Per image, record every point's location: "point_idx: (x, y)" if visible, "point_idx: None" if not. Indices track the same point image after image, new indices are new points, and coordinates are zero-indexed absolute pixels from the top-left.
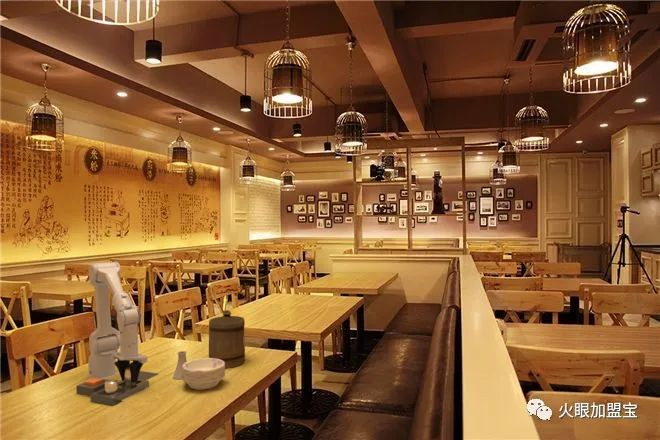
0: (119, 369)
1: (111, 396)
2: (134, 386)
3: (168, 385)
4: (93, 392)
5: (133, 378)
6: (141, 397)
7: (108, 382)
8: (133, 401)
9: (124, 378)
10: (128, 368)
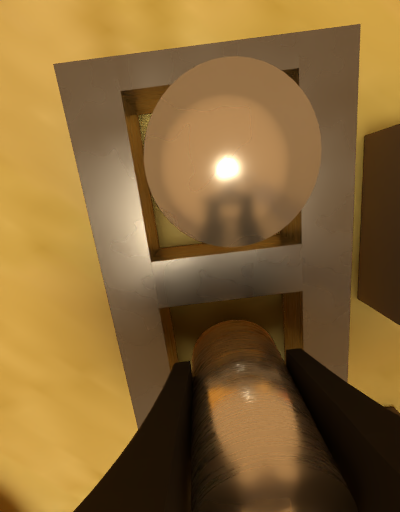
0: (395, 435)
1: (110, 86)
2: (141, 335)
3: (85, 464)
4: (396, 125)
5: (164, 392)
6: (56, 289)
7: (239, 109)
8: (38, 221)
9: (272, 364)
10: (284, 507)
